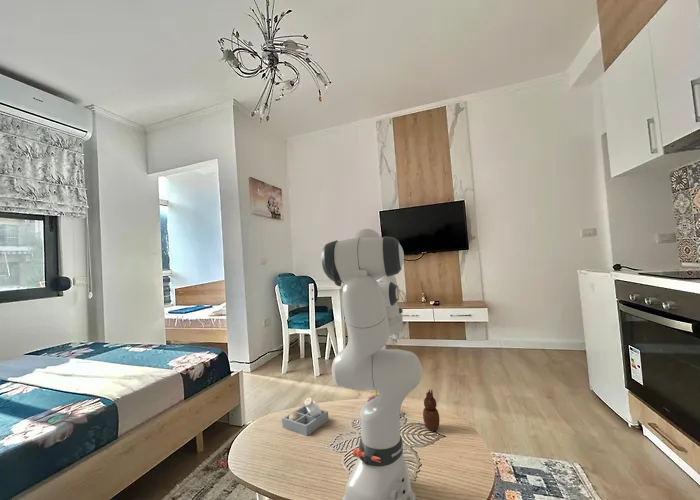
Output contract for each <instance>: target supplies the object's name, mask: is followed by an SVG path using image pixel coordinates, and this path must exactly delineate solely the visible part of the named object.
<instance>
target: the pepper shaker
mask: <svg viewBox="0 0 700 500" xmlns="http://www.w3.org/2000/svg"><path fill="white" fill-rule="evenodd" d="M304 405H306V408H307V410H308V412H309V414H310V415H311V416H312V417H316V418H317V417H318V416H320V415H321V414H322V412H321V410H322V409H321V408H320V406H318V404H317V402H316V401H314V400H313V399H312V397H307V398H306V399H305V400H304ZM320 409H321V410H320Z"/></svg>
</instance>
